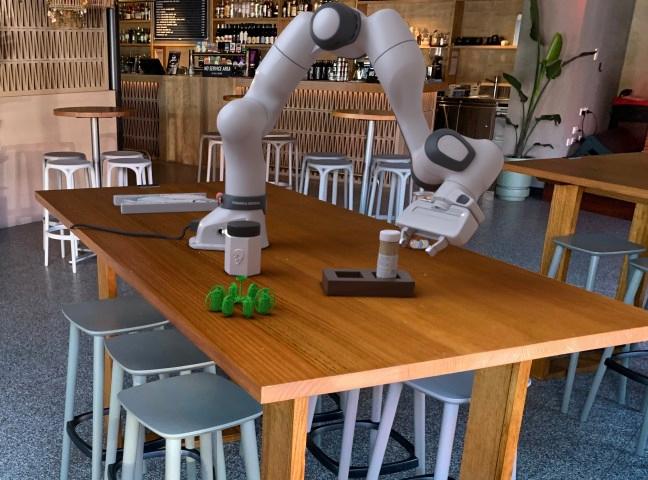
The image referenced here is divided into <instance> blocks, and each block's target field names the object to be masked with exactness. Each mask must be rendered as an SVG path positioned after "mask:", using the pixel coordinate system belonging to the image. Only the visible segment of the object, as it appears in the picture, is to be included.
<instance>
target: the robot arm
mask: <svg viewBox="0 0 648 480" xmlns="http://www.w3.org/2000/svg"><path fill="white" fill-rule="evenodd" d="M326 52H327V53H329V54H331V55H333V56H335V57H340V58H343V59H345V60H349V61H358V60H359V61H360V60H362V59H365V58H368V60H369V62H370V65H371V67H372V69H373V71H374V73H375V75H376V77H377V79H378V81H379V84H380V85H381V87H382V90H383V92H384V93H385V96H386V98H387V101H388V103H389V105H390V108H391V110H392V113H393V116H394V118H395V121H396V123H397V126H398V128H399V131H400V134H401V136H402V139H403V141H404V144H405V147H406V148H407V152H408V155H409V161H410V163H409V164H410V166H409V169H410V170H409V171H410V176H411V179H412V181H413V182H414V184H415V185H416V186H417V187H419V188H420V189H423V190H425V191H428V192H434V191H435V192H434V193H435V194H434V195H433V196H432V197H431V199H427V198H422V199H419V200H416V201H414V202H413V203H411V202H410V204H409V205H408V206H406V208H405V209H404V210H403V211H402V212H401V213H400V214H399V215H398V217H396V220H395V224H396V226H397V227H398V229H400V232H401V240H400V243H399V248H401V249H406V247H407V246H408V242H409V241H408V238H410V236H411V235H412V234H414V235H418V236H422V237H425V238H429V239H430V240H434V241H436V242H435V243H433V244H432V245H431V244H430V245H429V246H428V247H427V249H426V250H424V253H425V254H426V256H429V257H432V258H433V257H434V256H435V255H436V254H437V253H438V252H440V251H442V250H443V249H445V248H447V246H448V245H452V246H455V247H462V246H463V245H466V244H467V243H468V242H469V240H470V239H471V238H472V237H473V235H474V234H475V233H476V231H477V230H478V227H479V225H480V224H482V223H483V222H484V220H485V218H486V217H485V215H484V213H483V212H482V209H481V207H480V206H479V205H478V200H479V198H480V197H481V196H482V195H483V194H484V193H486V192H487V191H488V190H489V188H490V187H491V186H492V184H493V183H494V182H495V181H496V179H497V177H498V176H499V175H500V173H501V171H502V169H503V168H504V167H503V166H504V164H505V157H504V154H503V151H502V149H501V148H500V146H498V144H496V143H495V142H494V141H492V140H490V139H486V138H483V139H482V138H481V139H475V138H471V137H468V136H465V135H462V134H460V133H459V132H458V131H456V130H454V129H451V128H438V129H436V130H434V131H432V132H431V129H430V127H429V124H428V122H427V119H426V117H425V113H424V110H423V109H424V108H423V93H424V86H425V82H426V76H427V65H426V61H425V58H424V53H423V51H422V49H421V47H420V45H419V44H418V41H417V39H416V37H415V35H414V33H413V32H412V30H411V29H410V27H409V25H408V24H407V22H406V21H405V19H403V17H402V16H401V15H400V13H398V11H397V10H395V9H392V8H383V9H380V10H377V11H375V12H374V13H372V14H370V15H369V16H368V15H366V14H365V13H364V12H362V11H360V10H359V9H358V8H355V7H351V6H349V5H348V4H346V3H343V2H339V1H330V2H325V3H322V4H320V5H319V7H317V8H316V9H315V11H314V12H313V11H302V12H299V13H298V14H296V16H294V18H293V19H292V20H291V21H290V22H289V23H288V24H287V25H286V26H285V28H283V30H282V31H281V33H280V34H279V35H278V37H277V38H276V40H275V41H274V42H273V43H272V45H271V47H270V48H269V50H268V51H267V53H266V54H265V56H264V57H263V59H262V60H261V62H260V63H259V64H258V67H257V68H256V70H255V74H254V77H253V79H252V82H251V84H250V86H249V88H248V89H247V92H246V93H245V95H244V96H243V97H241V98H237V99H233V100H231V101H229V102H228V103H226V104H225V105H224V106H223V107H222V108H221V109H220V111H219V112H218V114H217V117H216V128H217V130H218V133H219V134H220V136H221V137H220V138H221V143H222V150H223V155H224V161H225V162H224V163H225V178H224V179H225V180H224V181H225V182H224V184H225V185H224V186H225V187H224V193H222V192H218V193H217V194H216V200H218V206H219V207H217V208H216V209H215V210H213V211H210V212H209V213H208V214H206V215H205V216H204V217H203V218H197V219H193V220H190V221H189V224H187V225H185V226H184V227H183V228H182V231H181V234H180V235H178V236H177V237H176V236H170V235H169V236H168V235H165V234H163V233H162V234H161V233H149V232H135V231H126V230H120V229H116V228H110V227H105V226H102V225H101V226H99V225H92V224H88V223H84V222H77V223H74V224H72V225H71V226H69V230H73V229H74V228H77V227H84V228H89V229H92V230H93V229H95V230H101V231H105V232H111V233H115V234H120V235H127V236H137V237H154V238H161V239H167V240H182V239H183V238H185V236H186V231H187V230H188V229H189V232H193V233H196V235H194V236H192V237H190V238H189V239H188V247H190V248H192V249H195V250H206V251H207V250H208V251H209V250H211V251H224V252H225V234H226V233H227V223H228V222H231V221H238V220H246V221H255V222H258V223H260V224H261V229H260V235H261V236H262V239H261V249H265V248H267V247H268V246H270V243H269V238H268V233H267V225H266V215H267V209H268V197H267V193H266V187H267V185H266V184H267V183H266V182H267V162H266V160H265V158H264V151H263V150H264V149H263V142H262V140H263V138H264V137H266V136H268V135H269V134H270V133H271V132H272V131H273V129H274V128H275V126H276V123H277V121H278V119H280V116H281V115H282V113H283V111H284V109H285V107H286V105H287V103H288V101H289V99H290V98H291V96H292V95H293V93H294V91H295V90H296V89H297V87H298V86H299V84H300V83H301V82H302V80H303V79H304V77H305V76H306V75H307V73H308V72H309V70H310V69H311V67H312V66H313V65H314V63H315V61H316V60H317V59H318V58H319V56H321V55H322V54H324V53H326Z"/></svg>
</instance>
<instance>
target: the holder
mask: <svg viewBox="0 0 648 480" xmlns="http://www.w3.org/2000/svg"><path fill="white" fill-rule="evenodd" d="M321 270H322V272H321V285H322V287H323V289H324V292H325V294H326V297H327V296H328V297H329V296H331V297H333V296H334V297H381V298H382V297H384V298H387V297H388V298H391V297H392V298H414V296H415V287H416V281H415V280H414V279H413V278H412V276H411V275H410V274H409V273H408V272H407V271H406V270H405V269H397V273H396V279H384V278H376V277H377V275H376V274H377V268H331V267H330V268H325V267H323V268H322V269H321Z"/></svg>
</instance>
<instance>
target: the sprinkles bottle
mask: <svg viewBox="0 0 648 480" xmlns="http://www.w3.org/2000/svg"><path fill="white" fill-rule="evenodd" d="M400 240H401V231H399V230H395V229H384V230H381V231H380V232H379V248H378V255H377V264H376V269H377V274H376V275H377V277H376V278H384V279H396V273H397V270H398V264H399V251H400V250H399V249H400V247H399V243H400Z"/></svg>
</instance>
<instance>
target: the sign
mask: <svg viewBox="0 0 648 480" xmlns="http://www.w3.org/2000/svg"><path fill="white" fill-rule="evenodd" d="M113 205H114V206H120V213H121V215H122V214H124V215H126V214H150V213H151V214H153V213H155V214H157V213H181V212H182V213H183V212H184V213H185V212H187V213H188V212H212V211H213V210H215V209H216V208H217V207H219V206H218V200H217V199H215V198H207V192H190V193H189V192H188V193H187V192H186V193H185V192H184V193H160V194H159V193H154V194H152V193H151V194H117V195H116V194H115V195H113Z"/></svg>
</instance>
